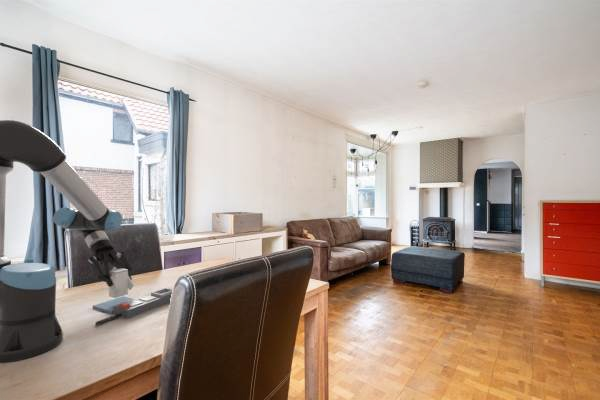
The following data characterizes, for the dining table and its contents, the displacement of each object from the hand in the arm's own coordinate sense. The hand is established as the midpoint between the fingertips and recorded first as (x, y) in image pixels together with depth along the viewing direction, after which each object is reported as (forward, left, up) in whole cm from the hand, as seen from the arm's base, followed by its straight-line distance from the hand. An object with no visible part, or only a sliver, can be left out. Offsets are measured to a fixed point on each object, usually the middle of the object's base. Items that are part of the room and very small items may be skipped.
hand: (124, 289), depth 113 cm
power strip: (+2, -7, -7) cm, 10 cm away
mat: (0, +3, -7) cm, 8 cm away
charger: (0, +4, -3) cm, 5 cm away
